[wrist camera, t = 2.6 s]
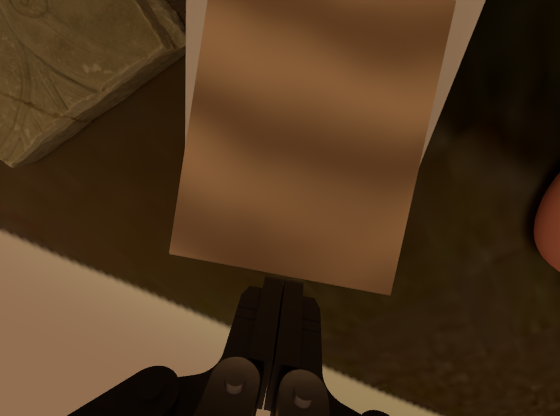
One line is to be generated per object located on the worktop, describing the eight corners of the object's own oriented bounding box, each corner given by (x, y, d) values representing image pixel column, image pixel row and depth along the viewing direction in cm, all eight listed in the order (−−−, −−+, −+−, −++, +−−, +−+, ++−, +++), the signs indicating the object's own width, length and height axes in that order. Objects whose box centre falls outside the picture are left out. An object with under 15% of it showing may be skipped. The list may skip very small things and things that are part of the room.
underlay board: (199, -214, 14) (187, -245, 12) (534, -160, 13) (559, -185, 12) (192, 198, 24) (185, 206, 22) (383, 233, 23) (388, 244, 22)
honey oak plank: (221, -20, 16) (213, -42, 14) (440, 18, 15) (456, 0, 14) (179, 247, 17) (169, 253, 15) (381, 285, 17) (390, 295, 15)
